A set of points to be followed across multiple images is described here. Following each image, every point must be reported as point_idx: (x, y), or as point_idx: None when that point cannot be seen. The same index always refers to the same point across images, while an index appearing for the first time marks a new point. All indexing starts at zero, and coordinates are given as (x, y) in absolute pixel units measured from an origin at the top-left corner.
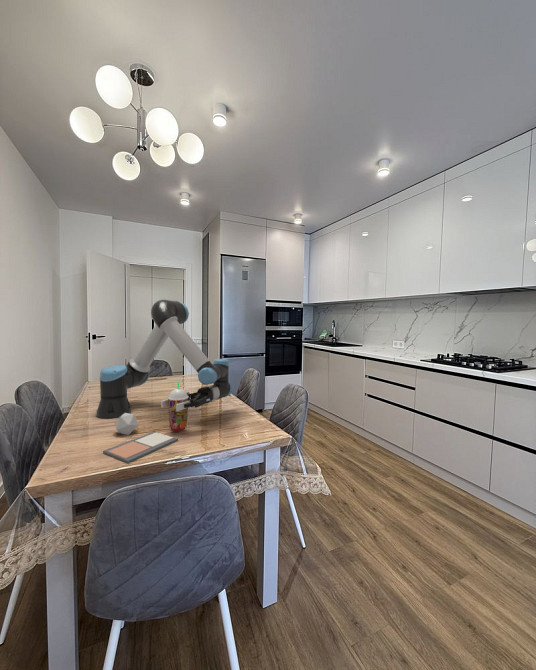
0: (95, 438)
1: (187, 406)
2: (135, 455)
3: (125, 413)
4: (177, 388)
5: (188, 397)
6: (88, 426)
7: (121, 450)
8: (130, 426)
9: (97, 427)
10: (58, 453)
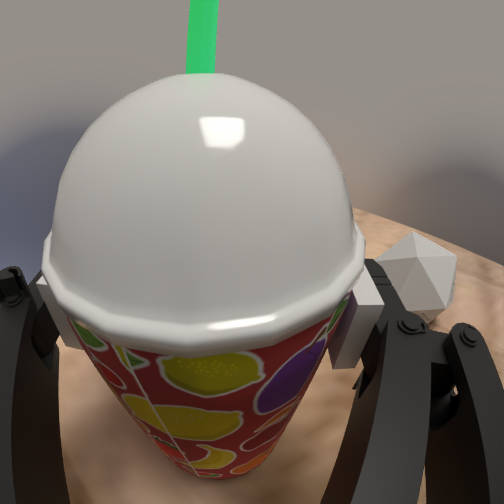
0: None
1: None
2: None
3: (446, 252)
4: (225, 76)
5: (46, 270)
6: (499, 286)
7: None
8: None
9: (487, 293)
10: (360, 214)
